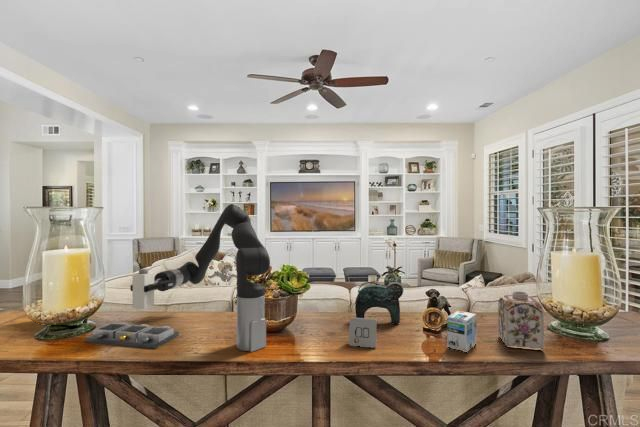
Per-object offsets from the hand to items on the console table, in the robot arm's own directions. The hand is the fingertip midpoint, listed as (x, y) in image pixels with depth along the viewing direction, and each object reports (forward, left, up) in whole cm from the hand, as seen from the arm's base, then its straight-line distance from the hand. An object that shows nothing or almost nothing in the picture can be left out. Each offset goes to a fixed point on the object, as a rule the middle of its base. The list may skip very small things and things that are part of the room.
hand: (138, 288), depth 123 cm
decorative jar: (-101, -88, -18) cm, 136 cm away
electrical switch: (-61, -50, -18) cm, 81 cm away
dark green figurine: (-52, -75, -18) cm, 93 cm away
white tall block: (+1, -2, -7) cm, 7 cm away
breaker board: (+2, +1, -18) cm, 18 cm away
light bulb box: (-87, -72, -18) cm, 115 cm away
